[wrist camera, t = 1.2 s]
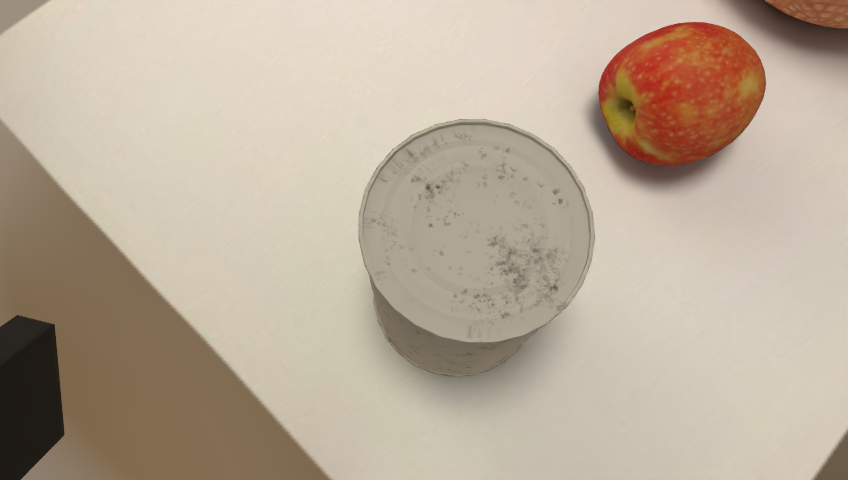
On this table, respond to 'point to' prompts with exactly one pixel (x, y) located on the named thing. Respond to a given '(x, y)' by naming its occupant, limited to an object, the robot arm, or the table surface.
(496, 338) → the dirty tin can
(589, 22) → the table surface
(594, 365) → the table surface
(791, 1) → the planter
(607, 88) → the apple
